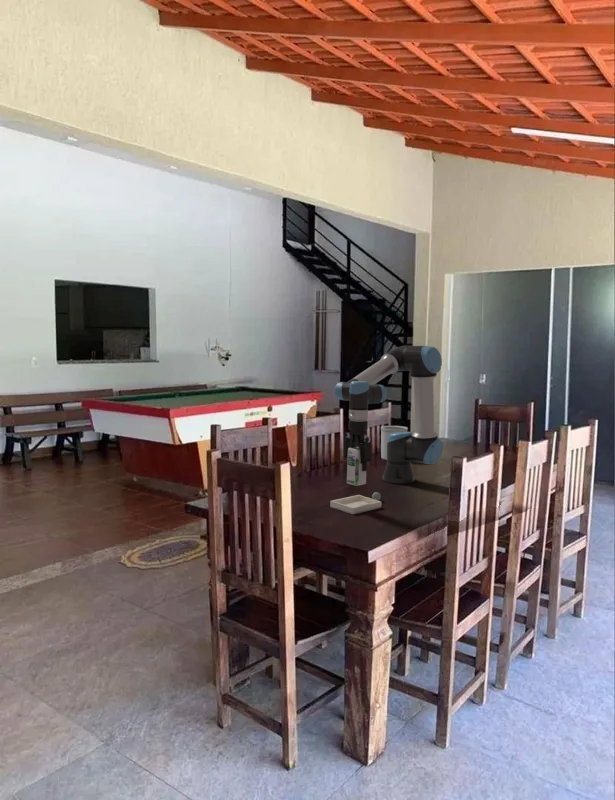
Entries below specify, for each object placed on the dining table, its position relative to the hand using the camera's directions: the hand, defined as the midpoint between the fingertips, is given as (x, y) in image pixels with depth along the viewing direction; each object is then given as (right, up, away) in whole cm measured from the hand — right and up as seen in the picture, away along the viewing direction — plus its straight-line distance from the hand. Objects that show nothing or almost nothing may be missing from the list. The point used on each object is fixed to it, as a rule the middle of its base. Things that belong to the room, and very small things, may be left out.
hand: (356, 477), depth 250 cm
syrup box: (0, -3, 0) cm, 3 cm away
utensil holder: (+29, -2, +101) cm, 105 cm away
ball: (+9, -10, +12) cm, 18 cm away
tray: (0, -12, +1) cm, 12 cm away
